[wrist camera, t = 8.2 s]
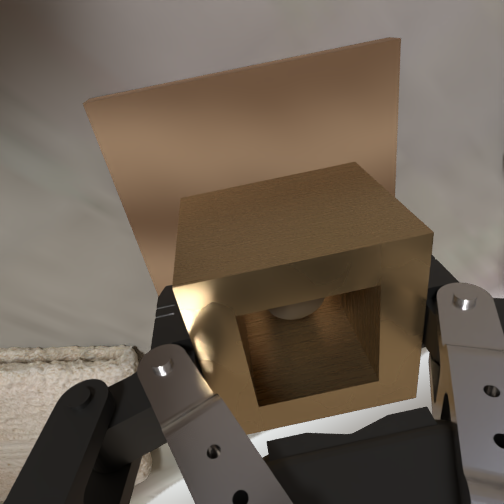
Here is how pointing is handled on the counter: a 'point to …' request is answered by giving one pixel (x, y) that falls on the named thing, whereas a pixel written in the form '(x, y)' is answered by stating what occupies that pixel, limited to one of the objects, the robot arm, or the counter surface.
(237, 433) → the robot arm
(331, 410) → the collar
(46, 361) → the washcloth
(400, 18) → the counter surface
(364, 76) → the post base
